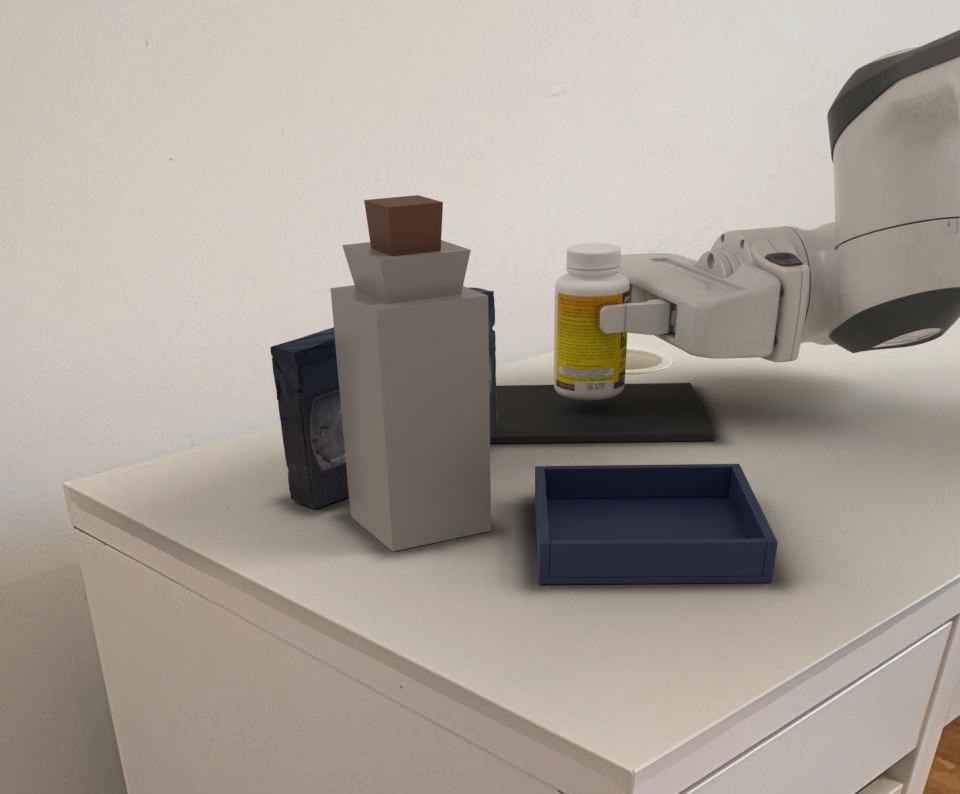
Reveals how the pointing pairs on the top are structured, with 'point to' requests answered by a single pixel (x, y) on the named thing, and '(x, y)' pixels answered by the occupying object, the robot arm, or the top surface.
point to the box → (650, 525)
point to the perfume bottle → (413, 380)
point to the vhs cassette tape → (328, 413)
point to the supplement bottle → (589, 324)
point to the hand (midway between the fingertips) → (581, 309)
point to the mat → (601, 415)
